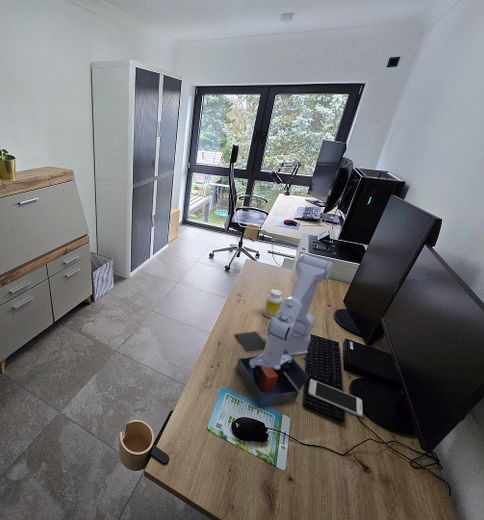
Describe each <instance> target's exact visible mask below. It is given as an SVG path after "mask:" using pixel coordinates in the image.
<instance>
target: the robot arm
mask: <svg viewBox="0 0 484 520" xmlns="http://www.w3.org/2000/svg"><path fill="white" fill-rule="evenodd" d="M333 267H334V263H333V262H332V261H328V260H325V259H322V258H319V257H314V256H311V255H307V254H305V253H302V254H300V255H299V256H298V258H297V261H296V263H295V275H296V276H297V278H296V281H295V283H294V285H293V289H292V291H291V294H290V296H289V297H285V298H284V299H283V300H282V303H281V306H280V309H279V310H278V312H277V314H276V316H275V317H273V318H270V321H269V322H268V325H267V328H266V337H267V338H266V342H265V344H266V345H265V349H263V352H262V354H260V355H257V356H258V357H256V358H254V359H251V360H250V362H249V364H250V366H251V367H252V369H253V378H254V379H255V381H256V382H258V381H259V379H260V376H261V375H262V374H263V373H264V371H263V370H262V367H261V366H266V367H273V368H274V371H275V373H276V374H277V375H278V378H279V377H280V376H281V375H282V373H285V371H286V370H288V369H289V368H290V365H289V364H288V363H291V361H292V358H291V357H290V355H291V356H297V355H303V354H308V353H309V352H308V348H309V345H310V343H311V332H312V330H313V328H314V323H315V317H314V316H313V315H312V314H311V313H310V312H309V311H310V309H311V306H312V304H313V300H314V297H315V294H316V291H317V289H318V286H319V283H322V281H326V280H328V279H329V277H330V275H331V272H332V270H333ZM285 349H286V350H287V352H288V353H289V354H290V355H289V354H288V355H284V354H283V353H284V350H285Z"/></svg>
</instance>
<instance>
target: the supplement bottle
mask: <svg viewBox="0 0 484 520" xmlns="http://www.w3.org/2000/svg"><path fill="white" fill-rule="evenodd" d="M282 294H283V293H282V291H281V290H278V289H271V290H270V293H269V294H268V295H267V296H266V299H265V303H264V306H263V311H262V312H263V315H264V316H265V317H267V318H270V319H272V318H273V317H275V316H276V314H277V312H278V310H279V309H280V307H281V305H282V303H283V297H282Z"/></svg>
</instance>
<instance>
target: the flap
mask: <svg viewBox="0 0 484 520" xmlns="http://www.w3.org/2000/svg"><path fill="white" fill-rule="evenodd" d="M283 354H284V355H288V354H289V353H288V352H287V350H286V349H285V350H284V353H283ZM289 355H290V354H289ZM290 357H291V358H292V361H291V363H288V364H289V365H290V368H289V369H288V370H286V371H285V372H284V373H285V375H286V376H287V377H288V379H289V380H290V381H291V382H292V384H293V385H294V386H295V388H296V389H297V390H298V391H301V389H302V388H303V387H304V385H305V384H306V382H307V381H308V380H309V378H310V375H308V373H306V371H305V370H304V368H303V367H301V365H300V364H299V363H298V362H297V361H296V359H295V358H294V357H293V355H290Z"/></svg>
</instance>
